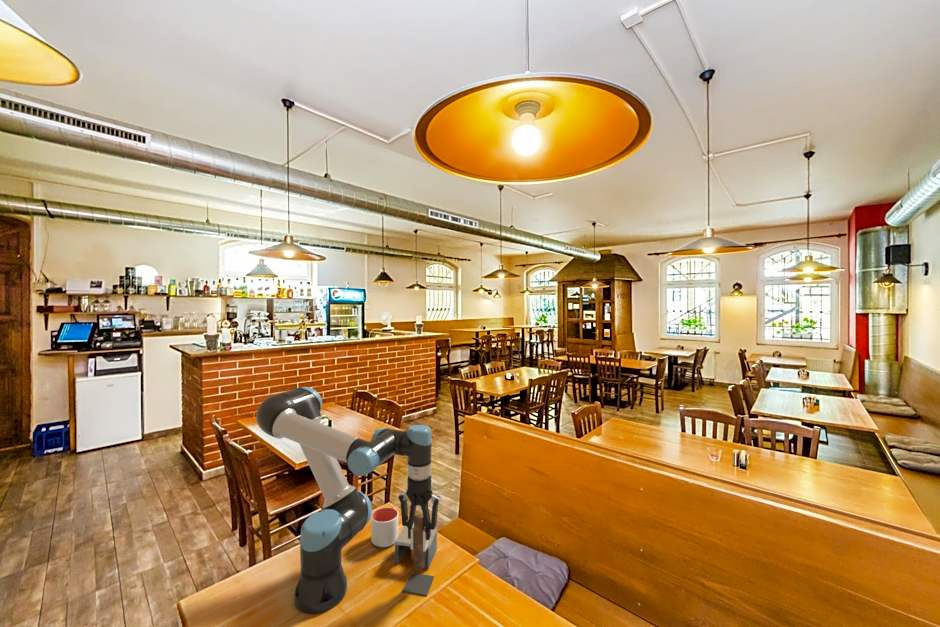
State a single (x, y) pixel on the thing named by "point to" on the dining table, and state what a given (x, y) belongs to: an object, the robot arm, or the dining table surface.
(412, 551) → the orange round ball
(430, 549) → the grey box with hole
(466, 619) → the dining table surface
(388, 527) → the cup
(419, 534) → the rod
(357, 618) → the dining table surface
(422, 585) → the coaster
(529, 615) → the dining table surface
